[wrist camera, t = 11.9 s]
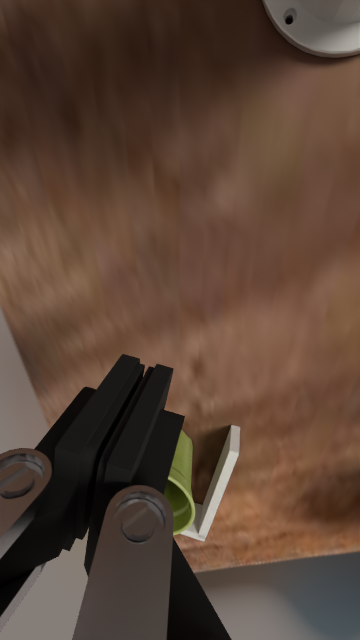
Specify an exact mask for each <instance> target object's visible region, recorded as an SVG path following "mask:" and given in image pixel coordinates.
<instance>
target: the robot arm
mask: <svg viewBox="0 0 360 640" xmlns="http://www.w3.org/2000/svg"><path fill="white" fill-rule="evenodd" d="M262 2H263V5H264V7H265V10H266V13H267V15H268V17H269V18H270V20H271V21H272V23H273V25H274V26H275V28H276V30H277V31H278V32H279V33H280V34H281V35H282V36H283V37H284V38H285V39H286V40H287V41H288V42H289V43H291V44H292V45H294V46H295V47H297V48H299V49H300V50H302V51H303V52H307V53H310V54H313V55H316V56H319V57H332V58H339V57H346V56H353V55H357V54H360V0H262ZM287 18H291V19H292V21H293V22H292V24H290V25H287V24H286V23H285V20H286V19H287ZM144 368H145V365H143V364H140V359H139V358H135V357H132V356H128V355H125V354H122V355H121V357H120V358H119V359H118V361H117V362H116V364H115V365H114V366H113V368H112V369H111V370H110V372H109V373H108V375H107V376H106V377H105V379H104V380H103V381H102V383H101V384H100V386H99V387H98V388H97V390H96V389H93V388H89V387H84V388H83V389H82V390H81V391H80V392H79V394H78V395H77V396H76V398H75V399H74V400H73V401H72V403H71V404H70V405H69V406H68V408H67V409H66V410H65V411H64V413H63V414H62V415H61V416H60V418H59V419H58V420H57V421H56V423H55V424H54V425H53V426H52V428H51V429H50V430H49V431H48V433H47V434H46V435H45V436H44V438H43V439H42V440H41V441H40V443H39V444H38V445H37V446H36V448H35V449H28V448H19V449H14V450H9V451H7V452H4V453H2V454H0V632H1V630H2V629H3V627H4V626H5V624H6V623H7V621H8V620H9V618H10V617H11V616H12V614H13V613H14V611H15V610H16V608H17V607H18V605H19V604H20V603H21V601H22V600H23V598H24V597H25V595H26V594H27V592H28V591H29V589H30V588H31V587H32V585H33V583H34V582H35V581H36V579H37V578H38V576H39V575H40V573H41V572H42V570H43V568H44V566H45V564H46V562H47V561H50V560H52V559H54V558H56V557H58V556H59V555H60V553H61V551H62V549H65V550H68V551H70V549H71V547H72V545H73V543H74V541H75V539H76V538H78V539H81V540H82V539H83V538H84V536H85V534H86V532H87V530H88V528H89V532H88V540H87V547H86V555H85V562H84V566H85V569H86V572H87V575H88V582H87V585H86V589H85V593H84V597H83V600H82V604H81V608H80V612H79V615H78V620H77V623H76V627H75V630H74V634H73V638H72V640H231V638H230V636H229V634H228V633H227V631H226V629H225V627H224V626H223V624H222V622H221V620H220V619H219V617H218V615H217V613H216V612H215V610H214V608H213V606H212V605H211V603H210V601H209V599H208V598H207V596H206V594H205V592H204V591H203V589H202V587H201V585H200V583H199V582H198V580H197V578H196V576H195V575H194V573H193V571H192V569H191V568H190V566H189V564H188V562H187V561H186V559H185V557H184V555H183V554H182V552H181V550H180V548H179V547H178V545H177V543H176V541H175V540H174V538H173V528H174V517H173V510H172V508H171V506H170V503H169V501H168V500H167V499H166V498H165V497H164V492H165V488H166V484H167V481H168V477H169V473H170V470H171V466H172V462H173V459H174V455H175V451H176V447H177V444H178V440H179V436H180V433H181V429H182V425H183V422H184V418H185V416H182V415H179V414H176V413H173V412H169V411H166V410H164V408H165V404H166V400H167V395H168V391H169V387H170V383H171V378H172V374H173V368H170V367H166V366H163V365H160V364H156V366H155V368H153V367H150V366H149V367H148V369H147V371H146V373H145V375H144V377H143V373H144Z"/></svg>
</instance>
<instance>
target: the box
mask: <svg viewBox="0 0 360 640" xmlns="http://www.w3.org/2000/svg"><path fill="white" fill-rule="evenodd" d="M239 441H240V427H238V426H234V425H231V428H230V430H229V433H228V436H227V439H226V441H225V444H224V447H223V450H222V453H221V455H220V458H219V461H218V464H217V466H216V469H215V472H214V475H213V477H212V480H211V483H210V486H209V489H208V491H207V494H206V497H205V500H204V502H203V505H201V504H198V503H195V502H194V504H195V517H194V520H193V522H192V524H191V526H190V527H189V528H188V529H186V530H185V531H183V532H182V533H180V534H183V535H186V536H189V537H192V538H195V539H198V540H201V541H205V539H206V536H207V534H208V531H209V529H210V526H211V524H212V521H213V518H214V516H215V513H216V511H217V508H218V506H219V503H220V501H221V498H222V496H223V493H224V490H225V488H226V485H227V483H228V480H229V478H230V475H231V473H232V470H233V468H234V465H235V463H236V460H237V457H238V455H239Z"/></svg>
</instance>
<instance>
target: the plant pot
mask: <svg viewBox="0 0 360 640" xmlns="http://www.w3.org/2000/svg"><path fill="white" fill-rule="evenodd" d="M192 451H193V445H192V441H191V439H190V438H189V437H188V436H187V435H186V434H185V433H184V432H183V431H182V430H181V433H180V436H179V440H178V444H177V447H176V451H175V455H174V459H173V462H172V466H171V470H170V473H169V477H168V481H167V484H166V488H165V492H164V497H165V498H166V499H167V500H168V501H169V503H170V506H171V508H172V510H173V517H174V528H173V535H176V534H179V533H182V532H183V531H185V530H186V529H188V528H189V527H190V526H191V524H192V522H193V520H194V517H195V504H194V501H193V498H192V492H191V470H192Z"/></svg>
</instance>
